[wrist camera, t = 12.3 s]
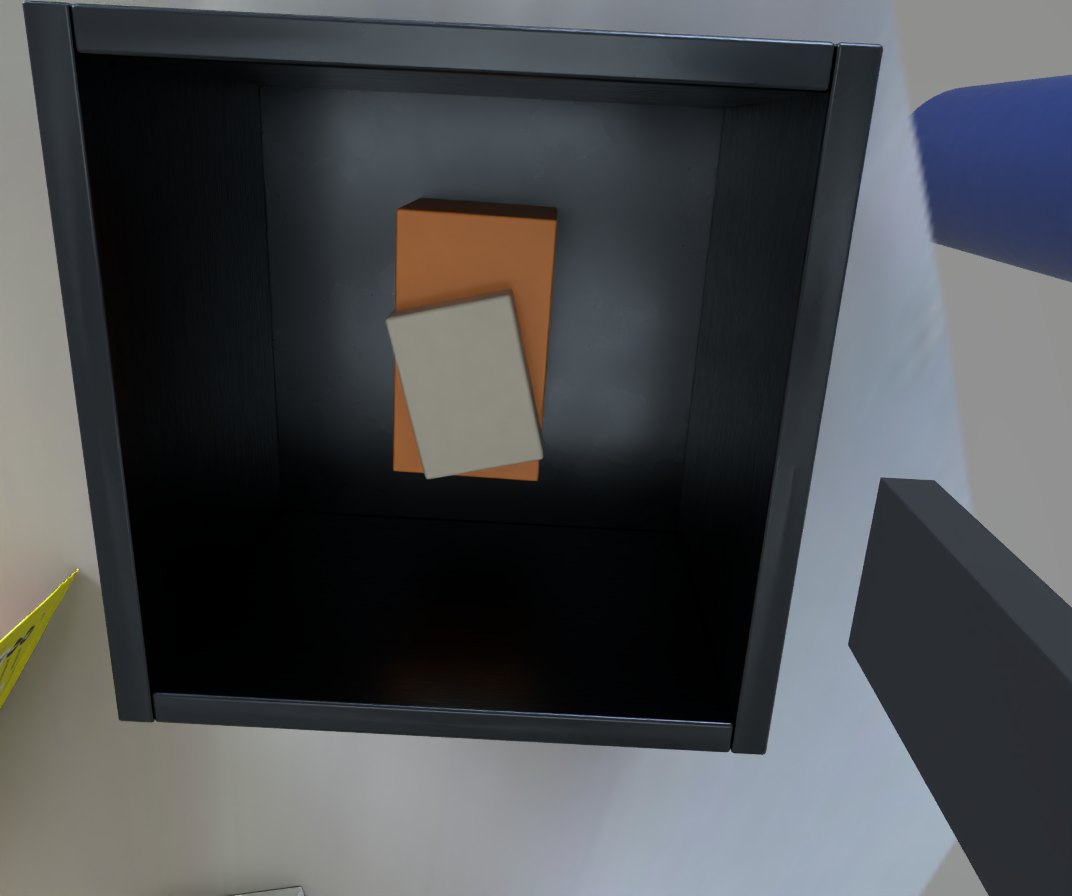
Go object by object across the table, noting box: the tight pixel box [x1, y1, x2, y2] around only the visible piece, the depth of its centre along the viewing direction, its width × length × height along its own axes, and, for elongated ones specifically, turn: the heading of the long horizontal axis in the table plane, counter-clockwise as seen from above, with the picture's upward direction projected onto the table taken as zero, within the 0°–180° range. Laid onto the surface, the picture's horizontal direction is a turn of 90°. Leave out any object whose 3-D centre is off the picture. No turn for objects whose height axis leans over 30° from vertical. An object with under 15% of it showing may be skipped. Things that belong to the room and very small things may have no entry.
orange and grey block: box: [386, 198, 557, 481], centre depth 24 cm, size 4×7×5 cm, turn 176°
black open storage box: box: [23, 1, 883, 755], centre depth 22 cm, size 15×15×11 cm
